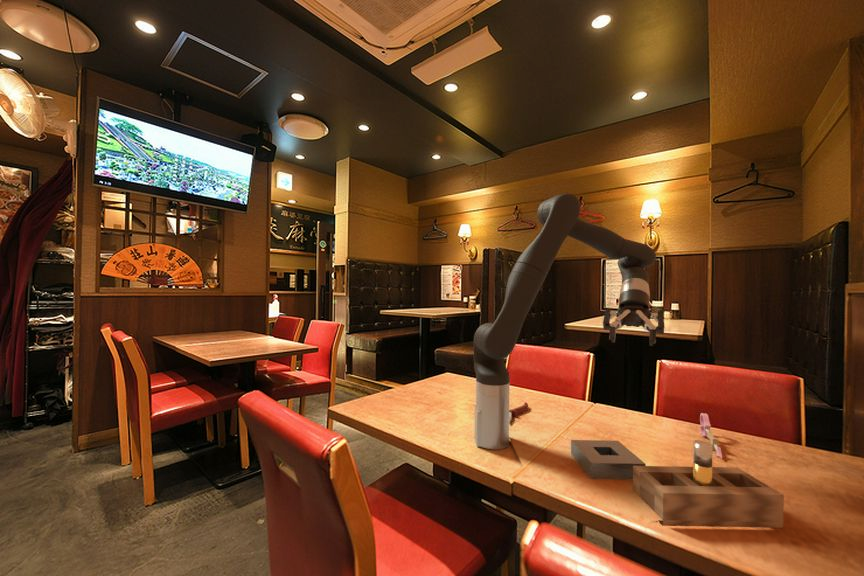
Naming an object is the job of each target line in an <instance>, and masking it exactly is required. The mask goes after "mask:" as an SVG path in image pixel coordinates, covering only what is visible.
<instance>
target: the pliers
mask: <svg viewBox="0 0 864 576" xmlns="http://www.w3.org/2000/svg"><path fill="white" fill-rule="evenodd" d="M528 409H529V404H528V403H527V402H525V401H524V404H523V405H522V406H518V407H516V408H515V407H514V408H512V409H509V424H510V423H511V422H512V420H513V419H512V418H515V419H516V418H518V416H519V415H522V414H524V413H526V412H527V411H528Z"/></svg>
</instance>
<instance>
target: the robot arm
mask: <svg viewBox="0 0 864 576" xmlns="http://www.w3.org/2000/svg"><path fill="white" fill-rule="evenodd" d="M580 214H581V202H580V200H579V198H578V196H576V195H575V194H573V193H565V192H564V193H561V194H558V195H555V196H552V197H550V198H548V199H545V200H544V201H542V202H541V203H540V204H539V206H538V208H537V213H536V216H537V220H538V222H539V223H540V224H541V225H542V226H543V227H542V229H541V230H540V232H539V233H538V235H536V238H534V240H533V241H532V242H530V244H529V245H528V246H527V247H526V248H525V249H524V251H523V252H522V253H521V254H520V255H519V257H518V258H517V260H516V262H515V263H514V266H513V267H512V270H511V272H510V273H509V276H508V278H507V283H506V289H505V297H504V301H503V304H502V307H501V310H500V311H499V313H498V315H497V317H496V319H495V321H494V322H493V323H492V322H486V323H484V324H481V325H479V326H478V328H477V329H476V331H475V332H474V335H473V368H474V369H473V370H474V373H475V378H476V379H475V381H476V382H475V389H476V390H475V405H474V437H473V438H474V440H475V444H476V445H475V446H476V447H478V448H484V449H488V450H503V449H505V448H507V447H509V444H510V423H509V410H510V376H511V375H510V371H509V369H508V368H507V366H506V363H505V359H506V358H507V357H509V355H510V354H511V353H512V352H513V351H514V349H515V346H516V344H517V342H518V339H519V336H520V333H521V330H522V328H523V325H524V322H525V320H526V317H527V316H528V314H529V311H530V309H531V308H532V305H533V304H534V302H535V299H536V297H537V295H538V294H539V292H540V290H541V288H542V286H543V284H544V282H545V280H546V278H547V275H548V273H549V271H550V268H551V267H552V265H553V263H554V262H555V259H556V257H557V255H558V253H559V251H560V249H561V247H562V245H563V244H564V242H565V240H566V239H567V237H570V238H572V239H575V240H576V241H579V242H581V243H583V244H585V245H587V246H589V247H590V248H592V249H594V250H595V251H598V252H599V253H601V254H603V255H604V256H606V257H607V258H610V259H611V260H618V261H617V266H618V269H619V271H620V274H621V275H620V276H621V287H620V289H619V298H618V308H617V310H611V308H608V307H607V308H606V309H605V311H604V317H603V319H602V320H603V321H602V328H603V330H605V331H607V330H608V331H609V332H608V338H609V339H608V340H609V341H611V343H616V336H617V335H616V334H617V331H618V330H619V329H622V328H623V327H625V326H626V327H635V328H640V327H641V328H642V329H643V330H644V331H647V332H648V333H649V335H648V336H649V337H648V338H649V342H648V343H649V346H651V347H653V345H655V344H656V343H657V335H658V334H660V335H664V334H665V317H664V311H662V310H658V311H657V312H651V310H650V299H651V293H650V291H651V290H650V276H649V275H650V274H649V272H648V270H647V268H649V267H650V266H652V265H654V264H655V262H656V260H657V254H656V252H655V250H654V249H653V248H652V247H650V245H648V244H645V243H642V242H638V241H635V240H630V239H626V238H624V237H623V236H621V235H619V234H618V233H616V232H615V231H613V230H611V229H609V228H607V227H604V226H600V225H597V224H594V223H591V222H587V221H585V220H584V219H583V220H582V219H580V218H579V217H580ZM614 317H616V318H615V319H614V320H613V321H612V322H611V323H610V321H611V320H612V319H613V318H614ZM651 319H653V320H654V321H655V322H657V325H655V324H654V323H653V322H652V320H651Z"/></svg>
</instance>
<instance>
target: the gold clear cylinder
mask: <svg viewBox="0 0 864 576" xmlns="http://www.w3.org/2000/svg"><path fill="white" fill-rule="evenodd" d="M692 444H693V448H692V449H693V451H692V452H693V454H692V456H693V457H692V459H693V461H692V467H693V482H695V483H696V484H697V485H699V486H712V467H713V450H712V445H711V442H707V441H705V440H698V439H697V440H694V441H693V443H692Z"/></svg>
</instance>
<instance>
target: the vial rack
mask: <svg viewBox="0 0 864 576" xmlns="http://www.w3.org/2000/svg"><path fill="white" fill-rule="evenodd" d="M632 490H633V492H635V493H636V495H638V497H640V498H641V500H642V501H643V502H644V503H645V504H646V505H647V506H648V507H649V508H650V509H651V510H652V511H653V512H654V513H655V514H656V515H657V517H659V518H660V519H659V520H657V521H658V522H659V523H660V525H662V526H664V527H665V526H668V527H669V526H670V527H672V526H674V527H721V528H722V527H723V528H724V527H726V528H727V527H729V528H730V527H731V528H734V527H735V528H777V529H778V528H779V529H783V528H784V510H785V509H784V505H785V503H784V502H785V501H784V498H785V496H784V494H783V493H781V492H779V491H778V490H776V489H775V488H773V487H771V486H769V485H768V484H766V483H765V482H762V481H761V480H759V479H757V478H756V477H755V476H753V475H751V474H749V473H747V472H746V471H744V470H742V469H741V468H739V467H738V466H737V467H732V466H731V467H729V466H727V467H726V466H723V467H722V466H712V486H699V485H697V484H696V483H695V482H693V466H669V465H667V466H665V465H657V466H656V465H646V466H633V480H632Z"/></svg>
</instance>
